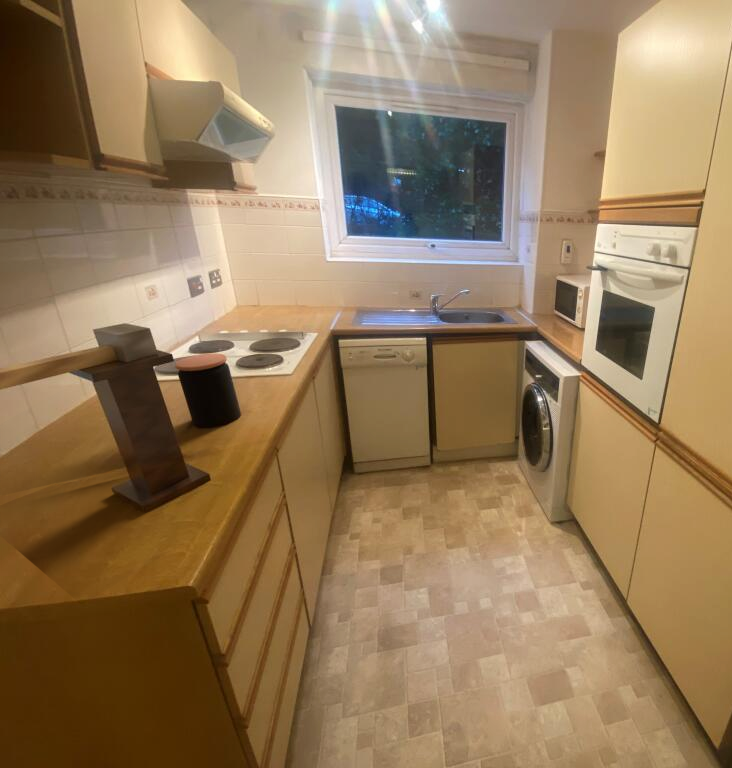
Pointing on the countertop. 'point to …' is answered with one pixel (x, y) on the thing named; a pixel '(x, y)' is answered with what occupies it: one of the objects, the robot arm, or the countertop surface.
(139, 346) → the mallet
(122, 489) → the stand
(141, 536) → the countertop surface
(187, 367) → the coffee jar
